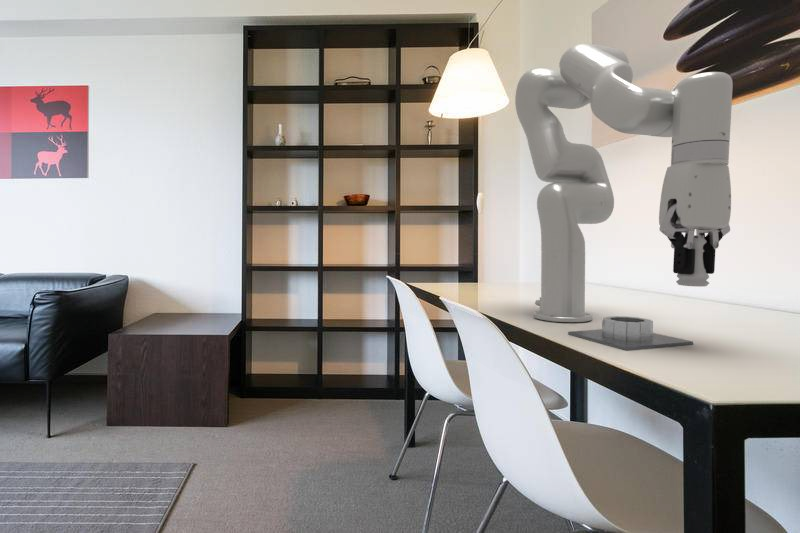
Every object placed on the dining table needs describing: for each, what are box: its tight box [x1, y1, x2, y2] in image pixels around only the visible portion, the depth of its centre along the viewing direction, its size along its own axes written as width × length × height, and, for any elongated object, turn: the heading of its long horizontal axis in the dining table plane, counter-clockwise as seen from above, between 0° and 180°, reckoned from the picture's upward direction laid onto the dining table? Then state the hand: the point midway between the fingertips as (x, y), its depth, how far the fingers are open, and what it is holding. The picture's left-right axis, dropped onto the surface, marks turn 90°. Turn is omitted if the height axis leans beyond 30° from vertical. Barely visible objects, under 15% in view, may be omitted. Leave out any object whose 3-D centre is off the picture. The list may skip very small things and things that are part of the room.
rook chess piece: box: [676, 234, 710, 288], centre depth 69 cm, size 4×4×8 cm
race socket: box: [567, 315, 694, 351], centre depth 77 cm, size 14×14×4 cm
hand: (693, 272), depth 69 cm, fingers closed on rook chess piece, 3 cm apart
